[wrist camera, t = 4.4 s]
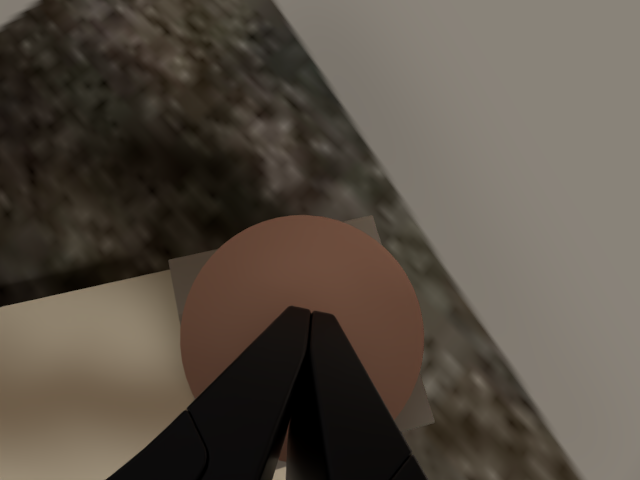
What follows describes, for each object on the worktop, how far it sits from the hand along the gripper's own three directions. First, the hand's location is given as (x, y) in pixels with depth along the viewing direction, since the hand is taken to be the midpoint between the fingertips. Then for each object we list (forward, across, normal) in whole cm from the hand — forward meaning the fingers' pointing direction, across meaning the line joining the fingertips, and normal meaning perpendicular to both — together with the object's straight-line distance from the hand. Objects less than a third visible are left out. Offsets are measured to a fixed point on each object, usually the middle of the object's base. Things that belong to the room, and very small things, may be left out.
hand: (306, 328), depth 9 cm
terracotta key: (+3, 0, +3) cm, 5 cm away
